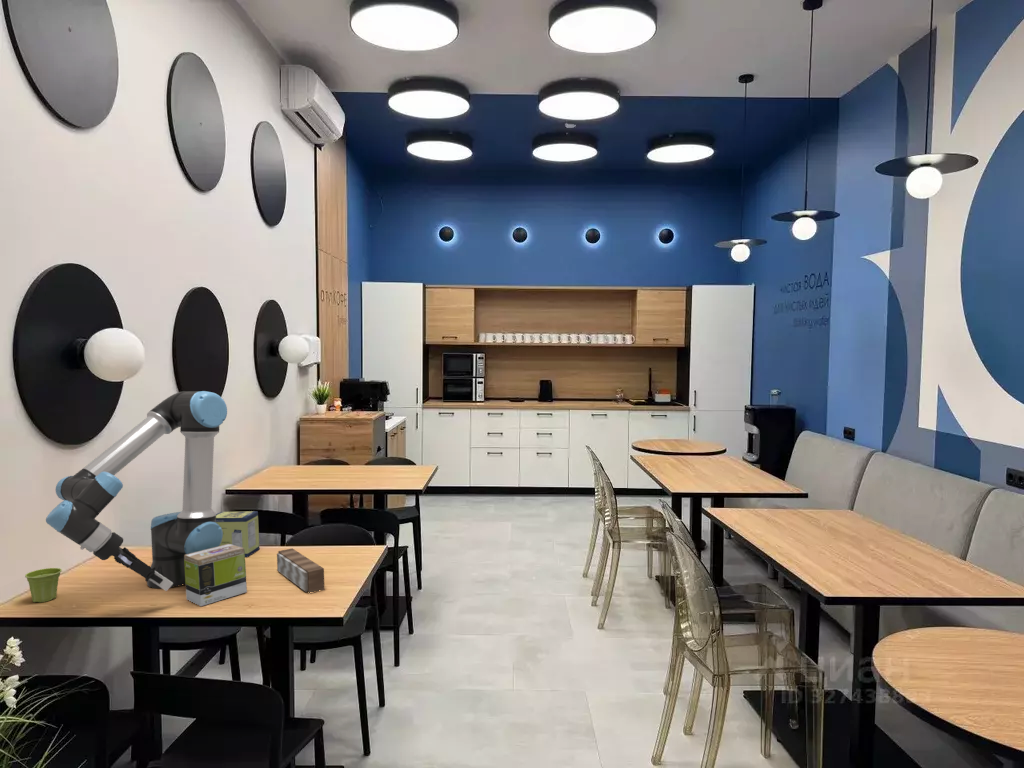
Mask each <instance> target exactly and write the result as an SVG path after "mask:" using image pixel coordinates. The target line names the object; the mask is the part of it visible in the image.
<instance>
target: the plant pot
mask: <svg viewBox="0 0 1024 768" xmlns="http://www.w3.org/2000/svg"><path fill="white" fill-rule="evenodd" d="M62 571H63V569H62V568H59V567H48V568H41V569H36V570H33V571H30V572H27V573H26V574H25V575H24V578H26V581H27V583H28V586H29V591H30V595H31V600H32V602H33V603H44V602H45V603H46V602H49V601H52V600H53V599H56V598H57V593H58V585H59V580H60V579H59V577H60V575H61V573H62Z"/></svg>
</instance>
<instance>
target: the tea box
mask: <svg viewBox="0 0 1024 768" xmlns="http://www.w3.org/2000/svg"><path fill="white" fill-rule="evenodd" d="M184 565H185V596H186V601H188V600H189V602H190V601H191V602H190V603H192V602H193V603H192V604H194V603H195V605H196V604H197V605H196V606H198V605H199V607H203V606H206V605H209V604H213V603H216V602H219V601H222V600H225V599H229V598H232V597H235V596H239V595H241V594H244V593H248V587H247V584H248V583H247V571H246V570H247V569H246V568H247V567H246V557H245V551H244V548H242V547H238V546H235V545H232V544H225V545H222V546H218V547H214V548H210V549H206V550H202V551H198V552H194V553H190V554H186V555H184Z"/></svg>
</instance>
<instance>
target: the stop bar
mask: <svg viewBox="0 0 1024 768" xmlns="http://www.w3.org/2000/svg"><path fill="white" fill-rule="evenodd" d="M276 566H277V567H276V568H277V571H278V572H279V573H280V574H282V575H283V576H284V577H286V578H287V579H288V580H290V581H291V582H292V583H293V584H294V585H296V586H297V587H299V588H300V589H301V590H302V591H304V592H305V593H308V592H309V593H310V592H314V591H318V592H320V591H319V590H322V591H325V567H323V566H320V565H319V564H318V563H316V562H314V560H311V559H310V558H308V557H306V556H305V555H303V554H302V553H300V552H298V551H297V550H295V549H294V548H288V549H282V550H278V551H277V553H276ZM277 571H276V572H277ZM307 591H308V592H307ZM309 593H308V594H309ZM314 593H315V592H314ZM310 594H311V593H310Z"/></svg>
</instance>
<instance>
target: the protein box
mask: <svg viewBox="0 0 1024 768" xmlns="http://www.w3.org/2000/svg"><path fill="white" fill-rule="evenodd" d="M216 523H217V524H218V525H219V526H220V527H221V529H222V532H223V537H222V541H221V544H220V545H219V546H222V545H225V544H232V545H235V546H238V547H242V548H244V551H245V558H249V557H251V555H253V554H255V553H257V552H258V551H259V550H260V534H259V533H260V531H259V530H260V529H259V512H258V511H255V510H253V511H252V510H251V511H250V510H249V511H219V512H217V513H216Z"/></svg>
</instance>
